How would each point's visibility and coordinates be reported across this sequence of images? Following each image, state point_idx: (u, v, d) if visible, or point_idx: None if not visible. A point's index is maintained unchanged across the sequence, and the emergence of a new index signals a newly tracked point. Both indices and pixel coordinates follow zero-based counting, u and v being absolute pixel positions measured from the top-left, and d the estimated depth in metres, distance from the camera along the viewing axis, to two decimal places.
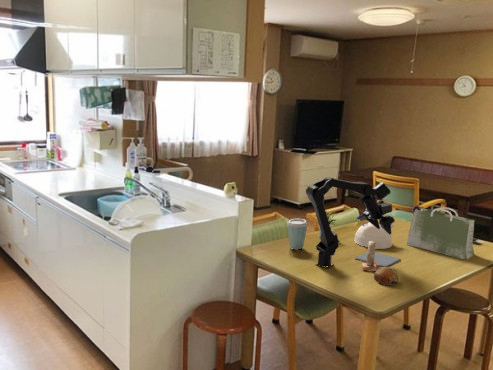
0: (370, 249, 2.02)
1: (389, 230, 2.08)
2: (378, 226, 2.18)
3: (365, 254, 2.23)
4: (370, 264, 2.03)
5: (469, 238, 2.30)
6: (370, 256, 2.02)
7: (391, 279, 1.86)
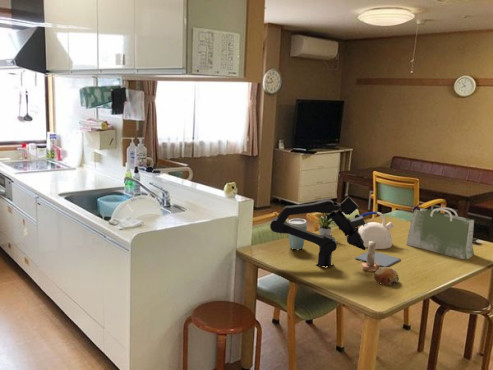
0: (370, 249, 2.02)
1: (361, 246, 1.98)
2: (361, 241, 2.08)
3: (365, 254, 2.23)
4: (370, 264, 2.03)
5: (468, 238, 2.30)
6: (370, 256, 2.02)
7: (391, 279, 1.86)
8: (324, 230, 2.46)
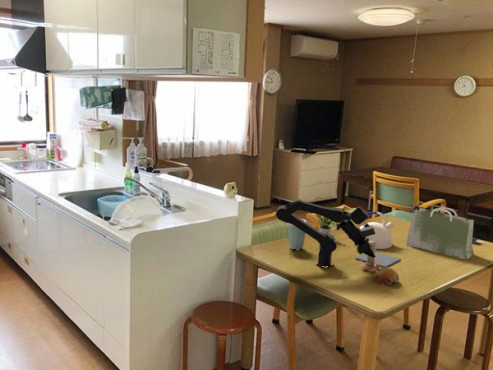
0: None
1: (371, 253, 2.01)
2: None
3: (365, 254, 2.23)
4: (370, 264, 2.03)
5: (468, 238, 2.30)
6: None
7: (392, 279, 1.86)
8: (324, 230, 2.46)
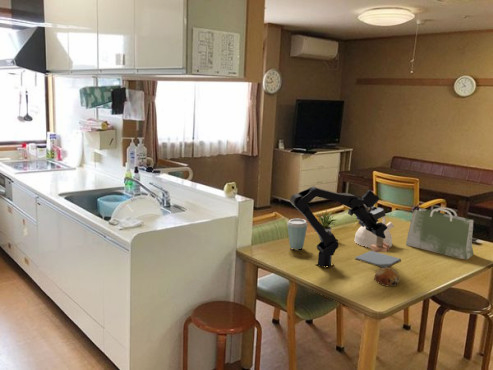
0: None
1: (382, 235, 2.08)
2: None
3: (365, 254, 2.23)
4: (380, 245, 2.10)
5: (468, 238, 2.30)
6: (380, 237, 2.09)
7: (392, 280, 1.86)
8: None
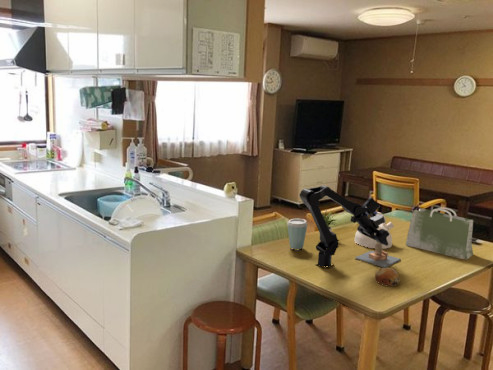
0: None
1: (385, 242, 2.11)
2: (375, 237, 2.21)
3: (365, 254, 2.23)
4: (379, 253, 2.16)
5: (468, 238, 2.30)
6: (379, 246, 2.15)
7: (392, 280, 1.86)
8: None
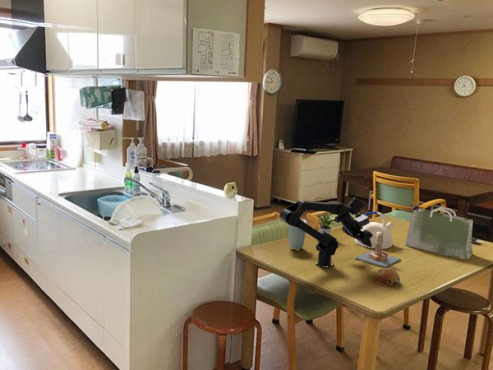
0: (380, 239, 2.15)
1: (369, 243, 2.08)
2: None
3: (365, 254, 2.23)
4: (379, 253, 2.16)
5: (467, 238, 2.30)
6: (379, 246, 2.15)
7: (392, 280, 1.85)
8: (324, 230, 2.46)
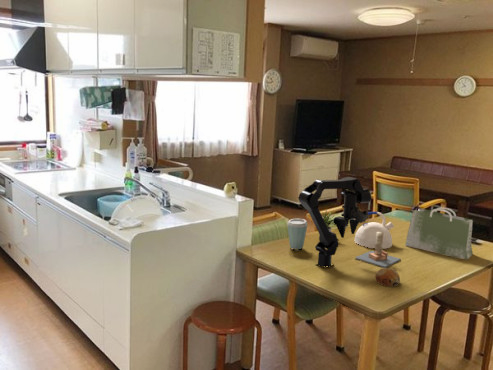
0: (380, 239, 2.15)
1: (341, 232, 2.07)
2: (352, 231, 2.14)
3: (365, 254, 2.23)
4: (379, 253, 2.16)
5: (467, 238, 2.30)
6: (379, 246, 2.15)
7: (392, 280, 1.85)
8: None
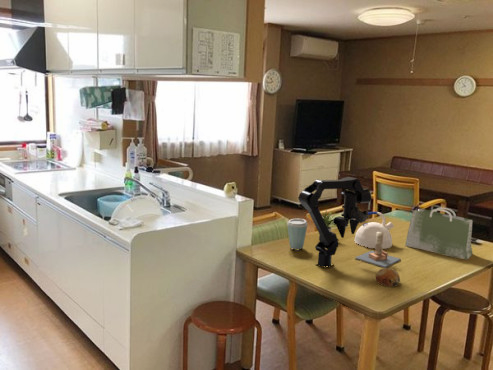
0: (380, 239, 2.15)
1: (341, 232, 2.07)
2: (352, 231, 2.14)
3: (365, 254, 2.23)
4: (379, 253, 2.16)
5: (467, 238, 2.30)
6: (379, 246, 2.15)
7: (393, 280, 1.85)
8: None
